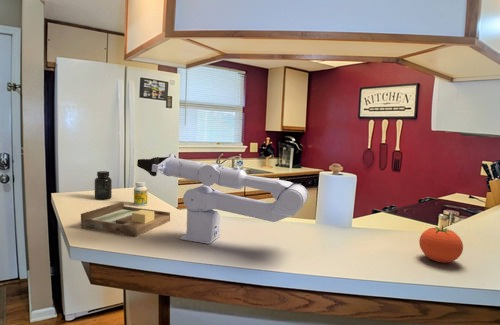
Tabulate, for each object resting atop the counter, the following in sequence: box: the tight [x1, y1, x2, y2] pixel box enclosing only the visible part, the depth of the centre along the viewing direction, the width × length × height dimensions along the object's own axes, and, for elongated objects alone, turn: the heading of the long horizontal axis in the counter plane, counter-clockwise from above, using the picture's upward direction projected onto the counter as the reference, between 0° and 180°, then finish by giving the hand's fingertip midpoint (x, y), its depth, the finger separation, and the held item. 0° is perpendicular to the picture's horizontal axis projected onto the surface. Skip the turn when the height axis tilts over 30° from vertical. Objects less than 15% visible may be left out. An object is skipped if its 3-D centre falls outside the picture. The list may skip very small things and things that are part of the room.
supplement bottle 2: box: [133, 181, 148, 207], centre depth 134 cm, size 5×5×10 cm
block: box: [132, 210, 154, 223], centre depth 105 cm, size 5×5×3 cm
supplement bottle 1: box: [94, 170, 113, 201], centre depth 142 cm, size 7×7×12 cm
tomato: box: [418, 225, 464, 263], centre depth 87 cm, size 10×10×10 cm
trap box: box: [80, 201, 171, 238], centre depth 107 cm, size 20×19×4 cm
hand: (145, 161), depth 101 cm, fingers open, 7 cm apart
